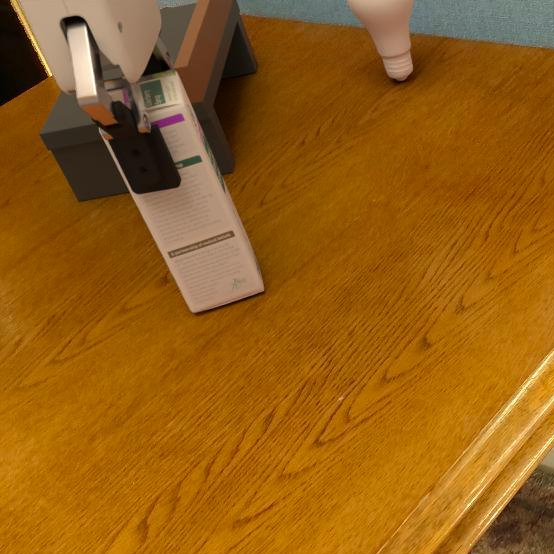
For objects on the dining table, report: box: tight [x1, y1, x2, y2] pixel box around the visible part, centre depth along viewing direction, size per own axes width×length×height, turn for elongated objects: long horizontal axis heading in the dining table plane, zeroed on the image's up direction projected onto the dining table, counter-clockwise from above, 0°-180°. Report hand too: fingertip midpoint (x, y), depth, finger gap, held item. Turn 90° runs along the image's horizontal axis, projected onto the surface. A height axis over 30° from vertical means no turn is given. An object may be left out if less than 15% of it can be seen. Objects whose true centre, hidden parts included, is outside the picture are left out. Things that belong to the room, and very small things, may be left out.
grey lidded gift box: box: [38, 0, 259, 202], centre depth 91 cm, size 14×23×10 cm, turn 5°
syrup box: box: [99, 70, 265, 314], centre depth 69 cm, size 6×6×14 cm
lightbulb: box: [346, 0, 415, 82], centre depth 90 cm, size 6×6×11 cm
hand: (167, 158), depth 67 cm, fingers closed on syrup box, 6 cm apart
